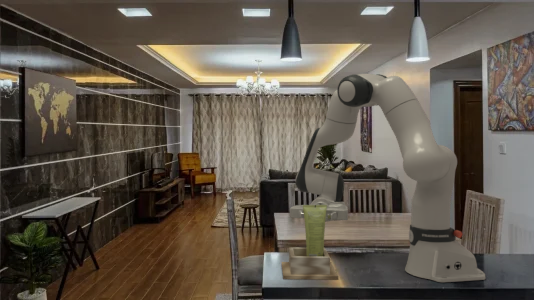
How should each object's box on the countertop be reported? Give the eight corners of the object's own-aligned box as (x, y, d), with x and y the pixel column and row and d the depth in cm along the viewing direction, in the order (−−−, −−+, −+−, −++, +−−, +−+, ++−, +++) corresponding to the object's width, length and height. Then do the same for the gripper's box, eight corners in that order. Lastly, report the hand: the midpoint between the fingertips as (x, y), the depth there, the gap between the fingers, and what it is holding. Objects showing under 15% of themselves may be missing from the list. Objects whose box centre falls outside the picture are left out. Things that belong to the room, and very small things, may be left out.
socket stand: (331, 265, 138) (331, 246, 138) (338, 279, 124) (338, 258, 124) (281, 264, 138) (281, 246, 138) (283, 279, 124) (283, 258, 124)
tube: (314, 265, 135) (313, 203, 134) (327, 268, 131) (327, 204, 131) (303, 269, 130) (302, 204, 130) (317, 272, 127) (316, 206, 127)
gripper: (293, 200, 159) (285, 205, 145) (349, 202, 154) (346, 208, 140) (293, 217, 159) (285, 224, 146) (349, 219, 154) (346, 227, 140)
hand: (315, 216), depth 143 cm, fingers open, 8 cm apart
